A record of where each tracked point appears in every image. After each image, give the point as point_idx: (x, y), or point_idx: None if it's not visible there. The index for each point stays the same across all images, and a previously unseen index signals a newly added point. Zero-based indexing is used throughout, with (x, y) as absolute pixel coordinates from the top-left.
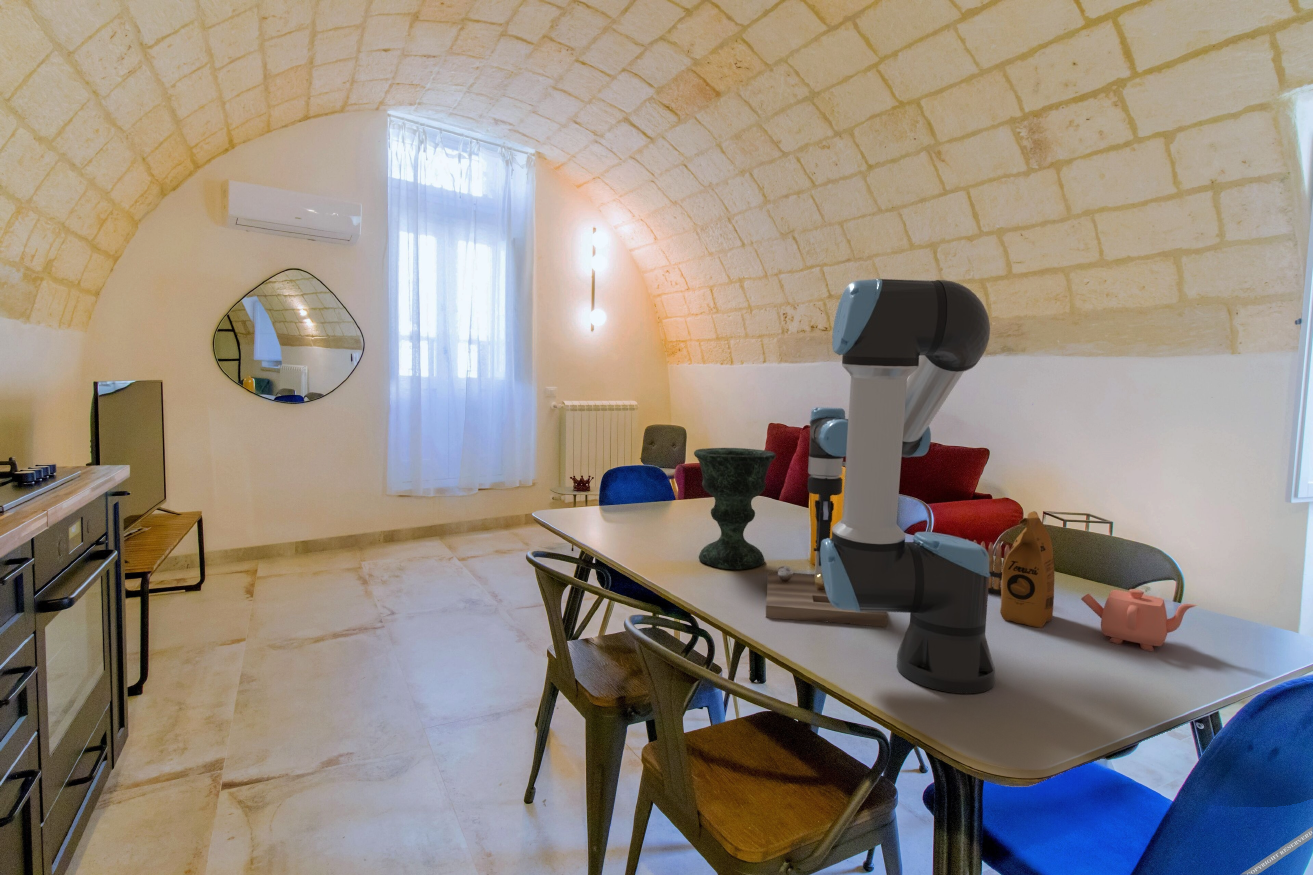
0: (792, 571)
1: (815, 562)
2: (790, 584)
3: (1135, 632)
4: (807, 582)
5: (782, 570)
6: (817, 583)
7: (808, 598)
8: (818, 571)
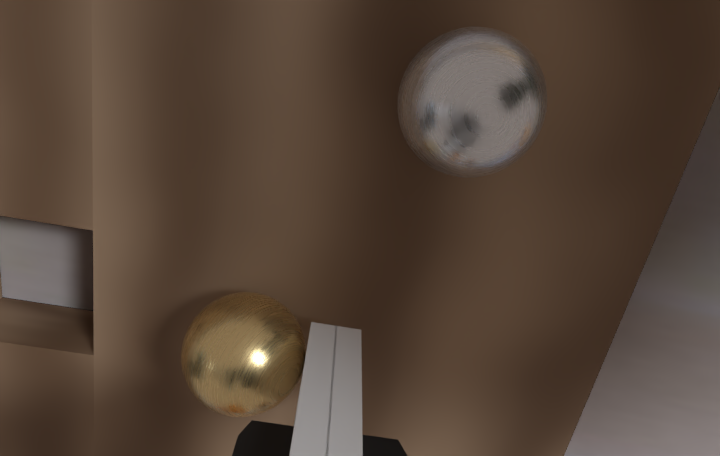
0: (452, 175)
1: (358, 414)
2: (346, 122)
3: None
4: (406, 262)
5: (428, 68)
6: (199, 313)
7: (4, 187)
8: (301, 380)
